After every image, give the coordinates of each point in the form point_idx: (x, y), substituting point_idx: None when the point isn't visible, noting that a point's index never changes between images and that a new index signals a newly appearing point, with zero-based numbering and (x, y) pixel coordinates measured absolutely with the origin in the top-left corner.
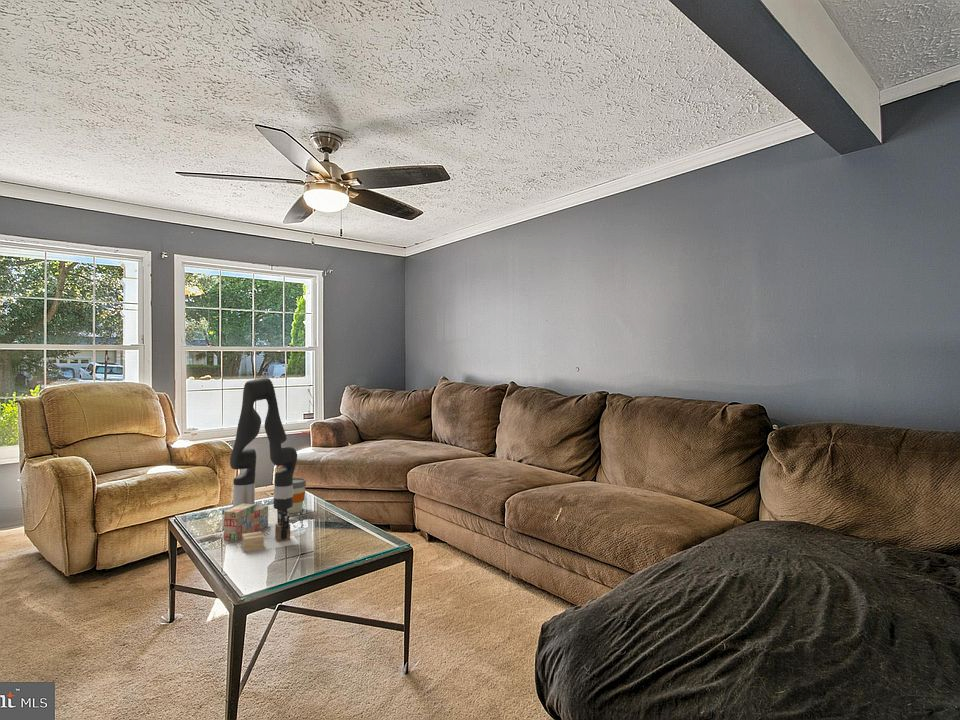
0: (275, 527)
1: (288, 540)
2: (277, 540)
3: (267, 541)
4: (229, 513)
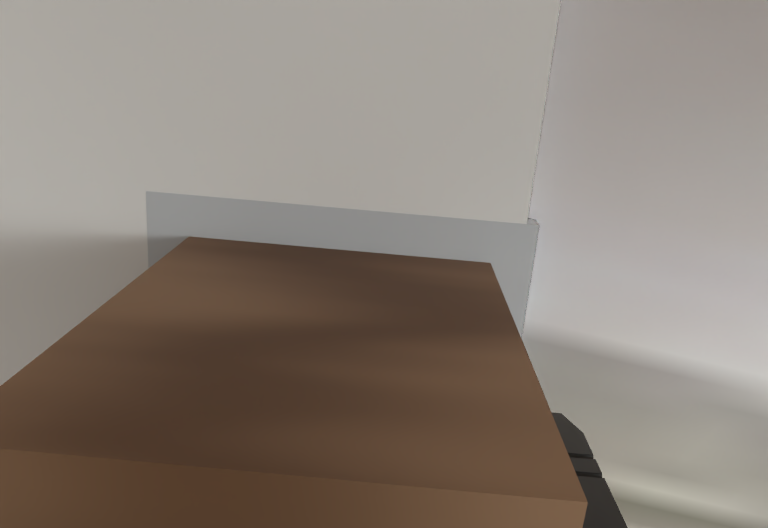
0: (539, 403)
1: None
2: (174, 250)
3: (359, 34)
4: None
